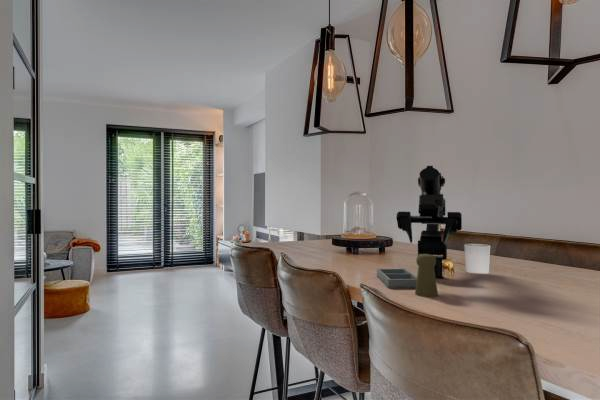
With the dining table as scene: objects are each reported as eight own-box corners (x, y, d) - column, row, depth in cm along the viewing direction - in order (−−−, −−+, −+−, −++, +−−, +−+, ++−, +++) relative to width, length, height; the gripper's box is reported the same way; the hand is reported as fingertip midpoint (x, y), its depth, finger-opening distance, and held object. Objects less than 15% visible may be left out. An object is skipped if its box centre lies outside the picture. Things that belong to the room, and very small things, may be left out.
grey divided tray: (405, 276, 142) (405, 268, 142) (421, 287, 123) (420, 279, 123) (376, 276, 142) (376, 268, 141) (388, 288, 123) (388, 279, 123)
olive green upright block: (439, 297, 112) (439, 256, 112) (415, 296, 113) (415, 255, 113) (436, 292, 118) (436, 253, 118) (414, 291, 119) (414, 252, 119)
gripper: (397, 185, 130) (391, 224, 120) (461, 184, 123) (461, 225, 113) (400, 209, 138) (395, 247, 128) (461, 209, 131) (461, 250, 121)
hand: (427, 242), depth 122 cm, fingers open, 9 cm apart
